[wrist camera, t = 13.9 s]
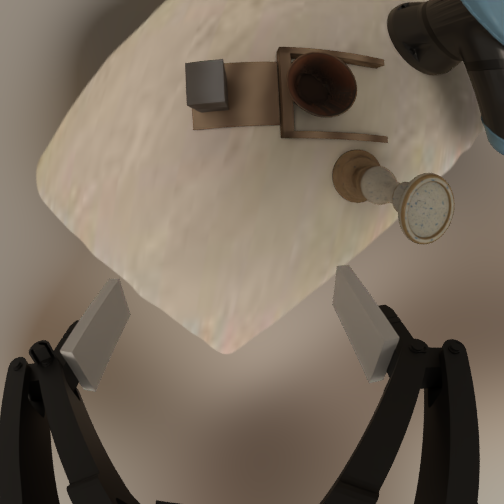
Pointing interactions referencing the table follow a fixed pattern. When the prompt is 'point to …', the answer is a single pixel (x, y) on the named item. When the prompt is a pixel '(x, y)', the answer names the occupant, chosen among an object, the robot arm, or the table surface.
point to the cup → (321, 84)
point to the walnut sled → (256, 93)
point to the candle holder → (397, 195)
